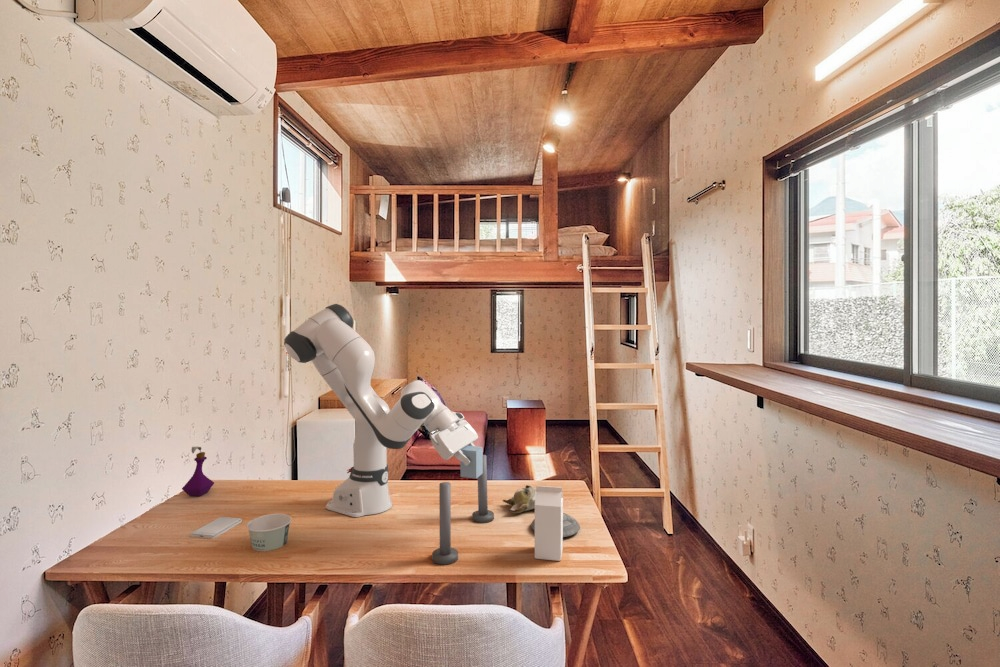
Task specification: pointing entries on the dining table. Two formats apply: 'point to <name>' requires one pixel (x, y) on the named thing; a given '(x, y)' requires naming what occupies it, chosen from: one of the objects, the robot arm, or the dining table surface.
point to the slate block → (472, 462)
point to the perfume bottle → (198, 478)
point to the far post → (483, 498)
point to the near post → (445, 528)
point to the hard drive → (216, 527)
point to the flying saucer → (566, 525)
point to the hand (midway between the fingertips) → (473, 460)
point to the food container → (269, 531)
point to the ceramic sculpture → (522, 500)
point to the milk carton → (548, 523)
